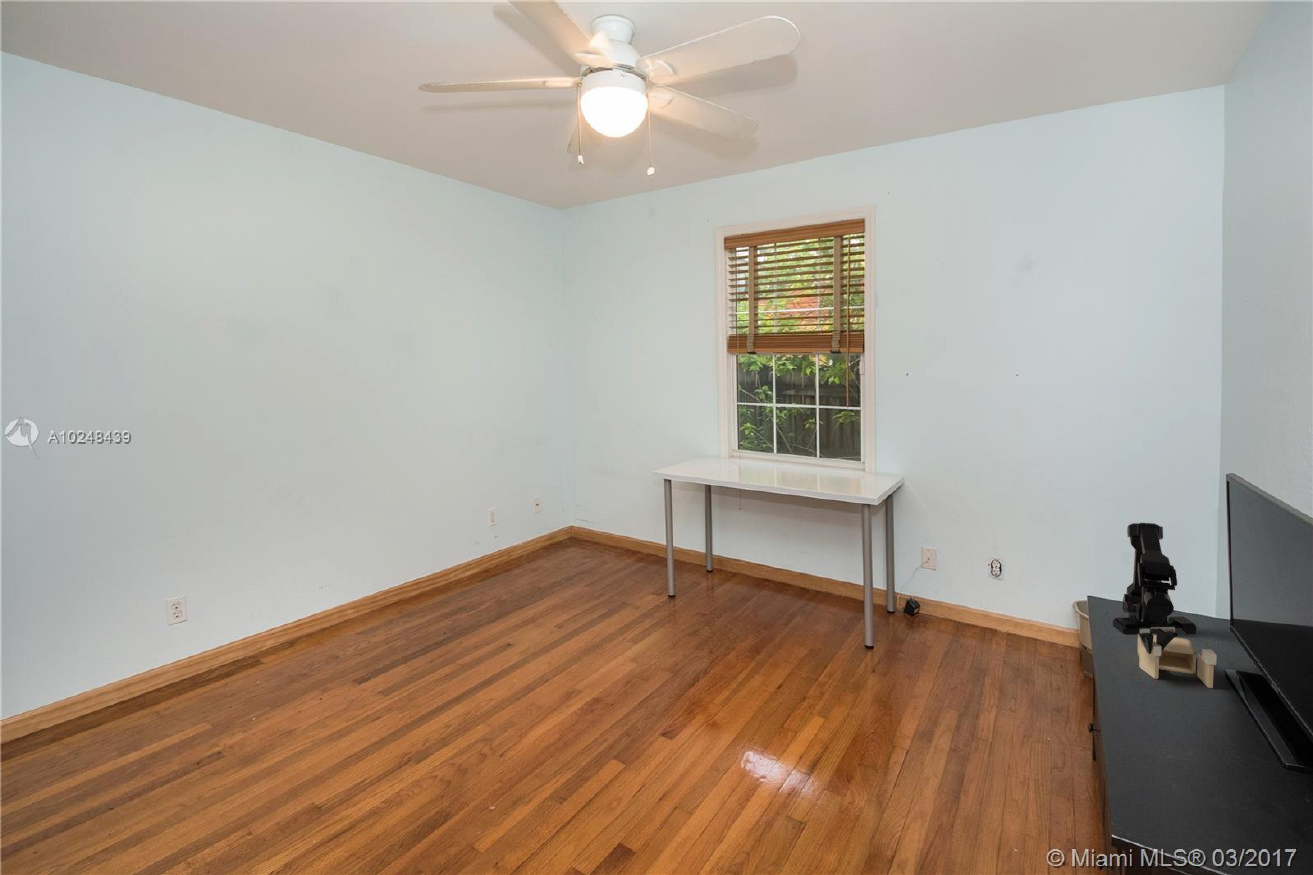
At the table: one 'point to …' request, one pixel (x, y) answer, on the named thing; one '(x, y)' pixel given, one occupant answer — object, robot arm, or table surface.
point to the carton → (1176, 655)
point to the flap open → (1206, 666)
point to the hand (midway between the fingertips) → (1153, 653)
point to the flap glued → (1150, 660)
